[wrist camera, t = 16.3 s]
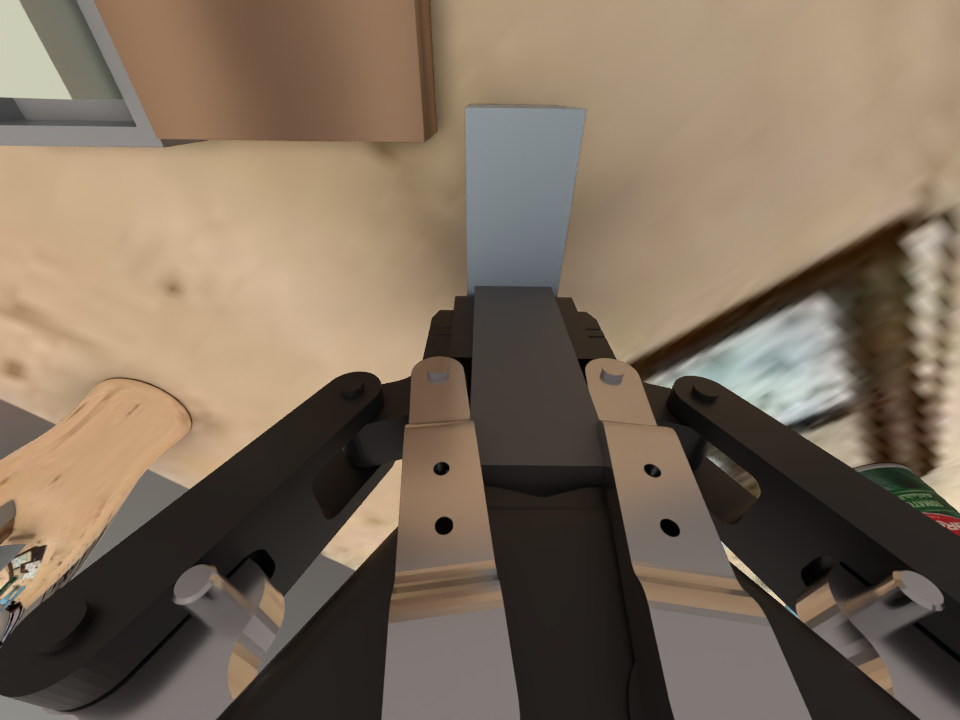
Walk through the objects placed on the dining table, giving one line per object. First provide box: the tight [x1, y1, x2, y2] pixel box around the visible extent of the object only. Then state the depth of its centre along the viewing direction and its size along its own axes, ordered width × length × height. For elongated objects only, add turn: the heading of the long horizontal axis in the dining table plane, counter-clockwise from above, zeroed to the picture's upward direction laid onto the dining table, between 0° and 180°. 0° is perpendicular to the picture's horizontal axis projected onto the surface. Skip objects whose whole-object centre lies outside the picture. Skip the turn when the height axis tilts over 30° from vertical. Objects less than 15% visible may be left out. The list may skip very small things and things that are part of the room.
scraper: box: [465, 104, 605, 497], centre depth 11 cm, size 3×12×12 cm, turn 179°
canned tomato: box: [854, 463, 960, 536], centre depth 26 cm, size 8×8×11 cm
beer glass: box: [0, 379, 191, 648], centre depth 19 cm, size 7×7×15 cm
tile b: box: [0, 0, 123, 100], centre depth 11 cm, size 4×4×2 cm
